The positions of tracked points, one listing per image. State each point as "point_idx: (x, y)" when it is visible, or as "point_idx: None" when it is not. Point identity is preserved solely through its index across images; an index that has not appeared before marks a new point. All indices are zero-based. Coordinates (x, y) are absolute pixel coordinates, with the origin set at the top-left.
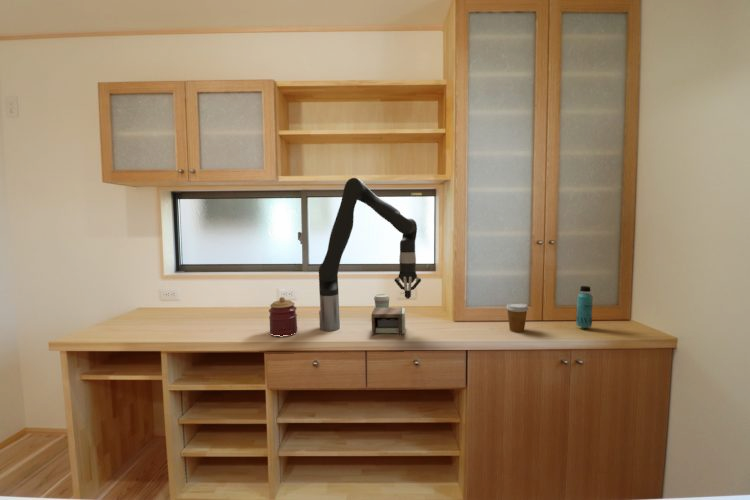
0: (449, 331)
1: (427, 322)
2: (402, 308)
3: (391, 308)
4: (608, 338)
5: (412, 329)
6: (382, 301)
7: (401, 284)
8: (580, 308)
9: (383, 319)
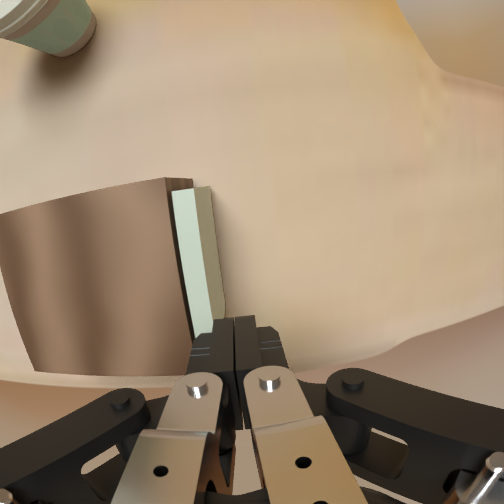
0: (430, 218)
1: (324, 71)
2: (174, 208)
3: (88, 222)
4: None
5: (254, 204)
6: (22, 27)
7: (96, 455)
8: None
9: None
